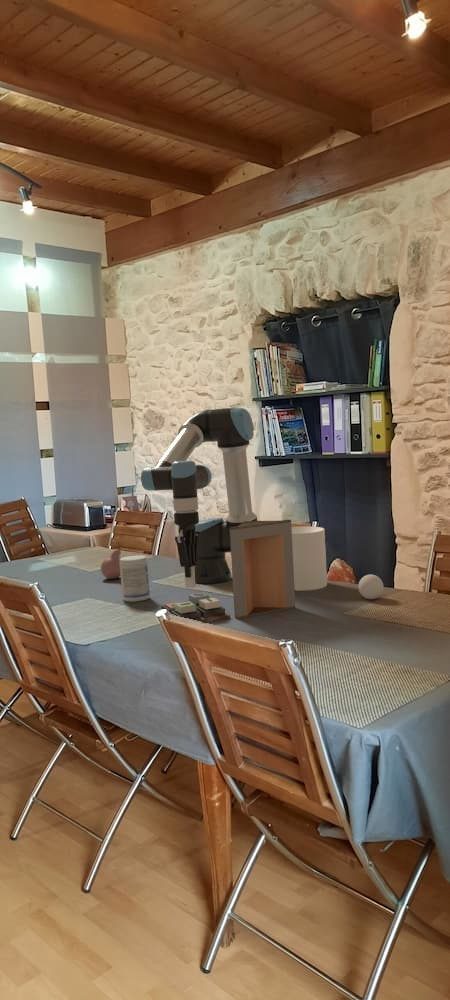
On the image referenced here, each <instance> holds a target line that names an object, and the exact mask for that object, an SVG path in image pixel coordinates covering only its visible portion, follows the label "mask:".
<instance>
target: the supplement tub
mask: <svg viewBox="0 0 450 1000" xmlns="http://www.w3.org/2000/svg"><path fill="white" fill-rule="evenodd" d="M120 575H121V576H120V584H121V595H122V596H121V597H122V600H123V601H125V602H129V603H135V602H136V603H137V602H143V601H145V600H148V599H150V597H151V595H150V581H149V579H150V578H149V568H148V559H147V556H146V555H129V556H124V557H121V558H120Z"/></svg>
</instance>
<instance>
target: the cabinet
mask: <svg viewBox="0 0 450 1000" xmlns="http://www.w3.org/2000/svg"><path fill="white" fill-rule="evenodd" d="M230 544H231V553H230V557H231V579H232V591H233V594H232V595H233V607H234V609H233V610H234V619H236V620H240V619H245V618H250V617H255V616H262V615H267V614H271V613H277V612H282V611H286V610H287V611H288V610H292V609H296V594H295V591H296V590H295V588H294V568H293V548H292V519H282V520H257V521H245V522H243V523H242V524H240V525H238V526H236V527H230Z"/></svg>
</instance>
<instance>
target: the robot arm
mask: <svg viewBox="0 0 450 1000" xmlns="http://www.w3.org/2000/svg"><path fill="white" fill-rule="evenodd" d="M254 430H255V429H254V423H253V420H252V416H251V414H250V412H249V411H248V410H247V409H246V408H244V407H226V408H216V409H215V408H213V409H205V410H201V411H199V412H197V413H195V414H194V415H192V416H191V417H189V418H188V419H186V420H185V421H184V422H183V424H181V426H180V427H179V429H178V432H177V436H176V437H175V439H173V441H172V443H171V444H170V446H169V447H168V448H167V449H166V450H165V452H164V454H162V456H161V457H160V459H159V460H158V462H157V463H156V464H155V466H150V467H145V468H143V469H142V471H141V474H140V482H141V486H142V488H143V490H146V491H155V492H156V491H172V504H173V511H174V513H173V518H174V522H173V523H174V525H175V526H178V535H177V536H175V537H174V541H175V543H176V547H177V554H178V560H179V565H180V567H181V568H184V581H185V582H184V584H185V588H188V589H189V588H191V589H195V588H196V584H218V583H224V582H227V581H230V580H231V579H232V571H231V569H230V567H229V564H228V562H227V560H226V553H227V554H228V553H230V554H231V544H230V527H236V526H238V525H240V524H242V523H243V522H245V521H258V515H257V514H256V513H255V512H253V504H252V496H251V488H250V487H251V486H250V477H249V468H248V458H247V448H248V447H249V445H250V441H251V440H253V438H254V435H255V434H254ZM209 442H215V443H217V448H218V449H219V450H220V451H221V452H222V460H223V468H224V469H223V470H224V478H225V487H226V496H227V498H226V499H227V506H228V515H227V517H225V521H224V518H223V517H214V518H207V519H204V520H203V519H202V520H199V511H198V510H199V500H198V499H199V498H198V490H203V489H204V488H206V487H208V486H209V485H210V484H211V482H212V472H211V470H210V469H209V467H208V466H205V465H204V464H203V465H202V464H196V462H195V461H193V460H188V459H189V458H190V456H191V455H192V453H193V452H194V451H195V449H196V448H198V447H200V446H201V445H202V444H203V443H209Z"/></svg>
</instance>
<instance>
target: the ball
mask: <svg viewBox="0 0 450 1000" xmlns="http://www.w3.org/2000/svg"><path fill="white" fill-rule="evenodd" d="M357 587H358V592H359V594H360V595H361V596H362V597H364V598H365V599H366V600H375V599H378V598H379V597H380V596H381V595H382V594H383V592H384V583H383V581H382V579H381V578H380V577H379V576H377V575H375V574H372V573H371V574H366V575H364V576H363V577H362V578H361V579H360V580H359V582H358V586H357Z"/></svg>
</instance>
